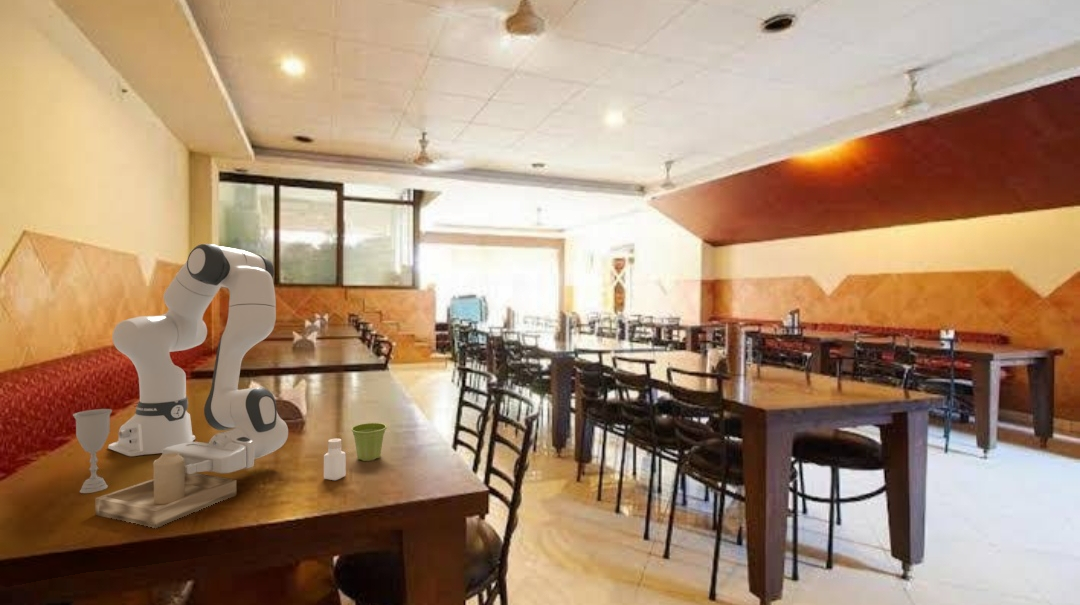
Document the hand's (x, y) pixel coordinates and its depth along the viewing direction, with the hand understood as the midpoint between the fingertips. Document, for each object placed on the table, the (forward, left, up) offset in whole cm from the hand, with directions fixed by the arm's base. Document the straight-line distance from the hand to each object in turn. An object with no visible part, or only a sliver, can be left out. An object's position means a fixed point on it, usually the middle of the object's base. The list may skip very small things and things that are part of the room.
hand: (170, 467), depth 115 cm
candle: (0, 0, -7) cm, 7 cm away
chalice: (-25, 0, -8) cm, 26 cm away
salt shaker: (+22, +26, -8) cm, 35 cm away
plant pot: (+20, +42, -8) cm, 47 cm away
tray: (0, 0, -8) cm, 8 cm away
